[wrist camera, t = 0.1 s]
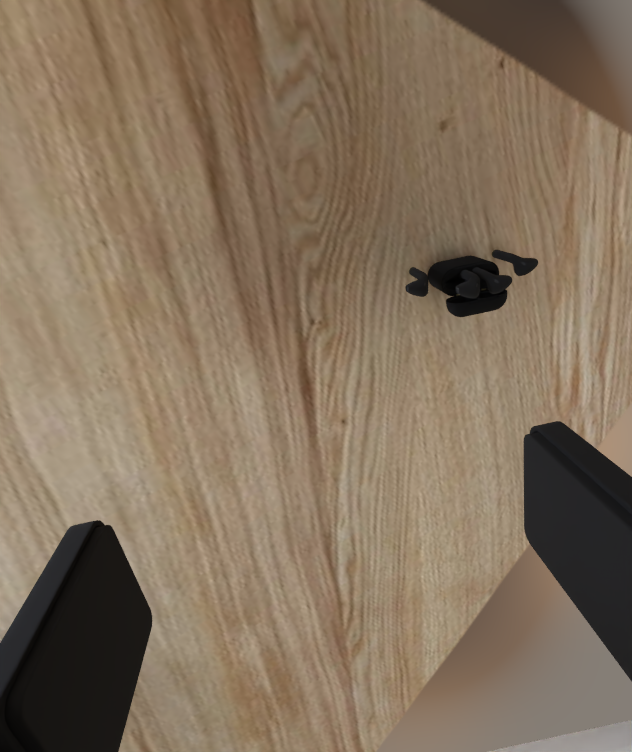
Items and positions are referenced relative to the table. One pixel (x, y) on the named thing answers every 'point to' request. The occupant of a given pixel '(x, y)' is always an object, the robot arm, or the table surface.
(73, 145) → the table surface
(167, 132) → the table surface
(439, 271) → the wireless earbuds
